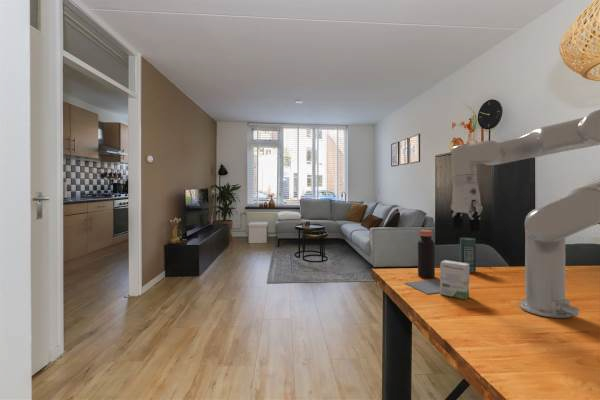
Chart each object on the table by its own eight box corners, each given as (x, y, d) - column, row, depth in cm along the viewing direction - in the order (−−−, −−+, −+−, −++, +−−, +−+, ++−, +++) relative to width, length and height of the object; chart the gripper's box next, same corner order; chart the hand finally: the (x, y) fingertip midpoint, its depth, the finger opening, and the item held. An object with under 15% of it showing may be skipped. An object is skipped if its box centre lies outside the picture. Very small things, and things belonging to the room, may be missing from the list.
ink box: (469, 296, 106) (470, 263, 105) (466, 300, 102) (467, 266, 101) (443, 290, 111) (444, 259, 111) (439, 294, 107) (440, 261, 107)
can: (473, 269, 141) (473, 237, 141) (476, 272, 136) (476, 239, 135) (459, 268, 144) (459, 237, 143) (461, 271, 138) (461, 239, 138)
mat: (464, 290, 112) (464, 289, 112) (427, 294, 108) (427, 293, 108) (437, 279, 126) (437, 279, 126) (404, 283, 122) (404, 282, 122)
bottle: (426, 279, 127) (425, 232, 127) (414, 275, 133) (414, 230, 133) (438, 277, 130) (438, 231, 129) (426, 273, 136) (426, 229, 136)
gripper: (491, 178, 96) (493, 232, 96) (460, 181, 113) (462, 227, 114) (468, 179, 96) (470, 233, 96) (441, 182, 113) (442, 227, 113)
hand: (465, 229), depth 105 cm, fingers open, 9 cm apart
